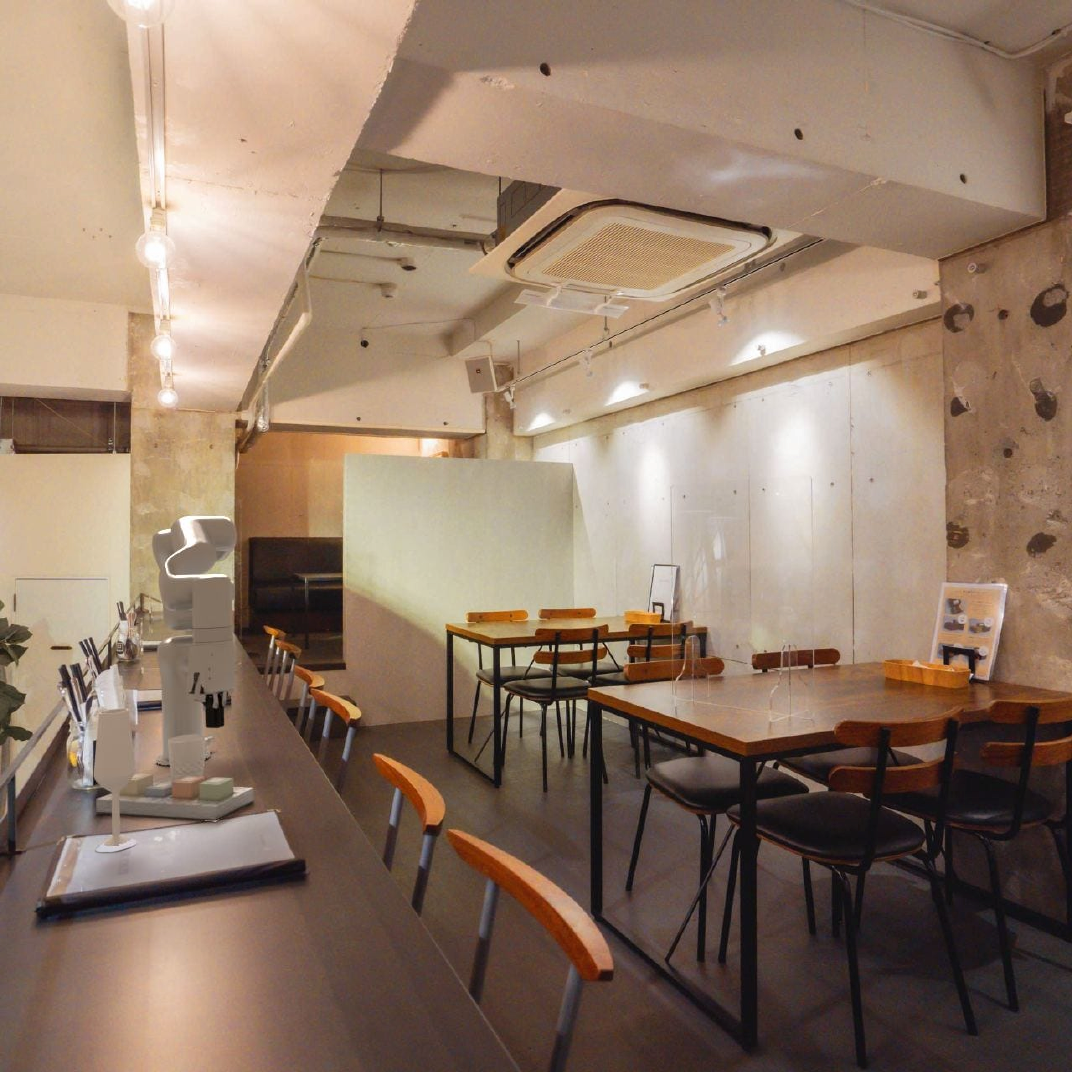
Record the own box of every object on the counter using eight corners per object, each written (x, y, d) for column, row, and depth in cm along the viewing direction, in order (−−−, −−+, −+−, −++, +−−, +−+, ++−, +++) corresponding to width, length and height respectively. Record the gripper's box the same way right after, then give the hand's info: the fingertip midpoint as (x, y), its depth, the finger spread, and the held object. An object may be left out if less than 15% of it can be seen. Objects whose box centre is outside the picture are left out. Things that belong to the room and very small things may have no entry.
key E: (214, 794, 159) (214, 776, 159) (233, 795, 158) (233, 777, 158) (199, 801, 155) (199, 783, 155) (219, 802, 153) (218, 784, 154)
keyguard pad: (140, 795, 168) (140, 781, 168) (253, 802, 161) (253, 788, 161) (96, 814, 156) (96, 799, 156) (215, 822, 149) (215, 806, 149)
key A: (187, 792, 161) (187, 775, 161) (206, 793, 159) (205, 776, 160) (172, 799, 156) (171, 781, 156) (191, 800, 155) (190, 782, 155)
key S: (135, 789, 164) (135, 772, 164) (153, 790, 163) (152, 773, 163) (118, 796, 160) (118, 778, 160) (137, 797, 158) (136, 779, 158)
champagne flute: (97, 842, 140) (95, 710, 141) (138, 836, 143) (136, 706, 143) (92, 855, 134) (90, 716, 134) (135, 848, 137) (133, 712, 137)
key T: (161, 798, 162) (161, 781, 162) (179, 799, 161) (179, 782, 161) (145, 805, 158) (145, 787, 158) (164, 806, 157) (163, 789, 157)
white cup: (191, 787, 173) (191, 742, 173) (160, 786, 175) (160, 742, 175) (213, 777, 181) (212, 734, 181) (183, 776, 182) (182, 733, 183)
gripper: (221, 632, 165) (223, 718, 165) (171, 640, 151) (173, 735, 150) (251, 632, 163) (253, 719, 163) (204, 640, 149) (206, 735, 148)
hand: (215, 726), depth 156 cm, fingers closed
